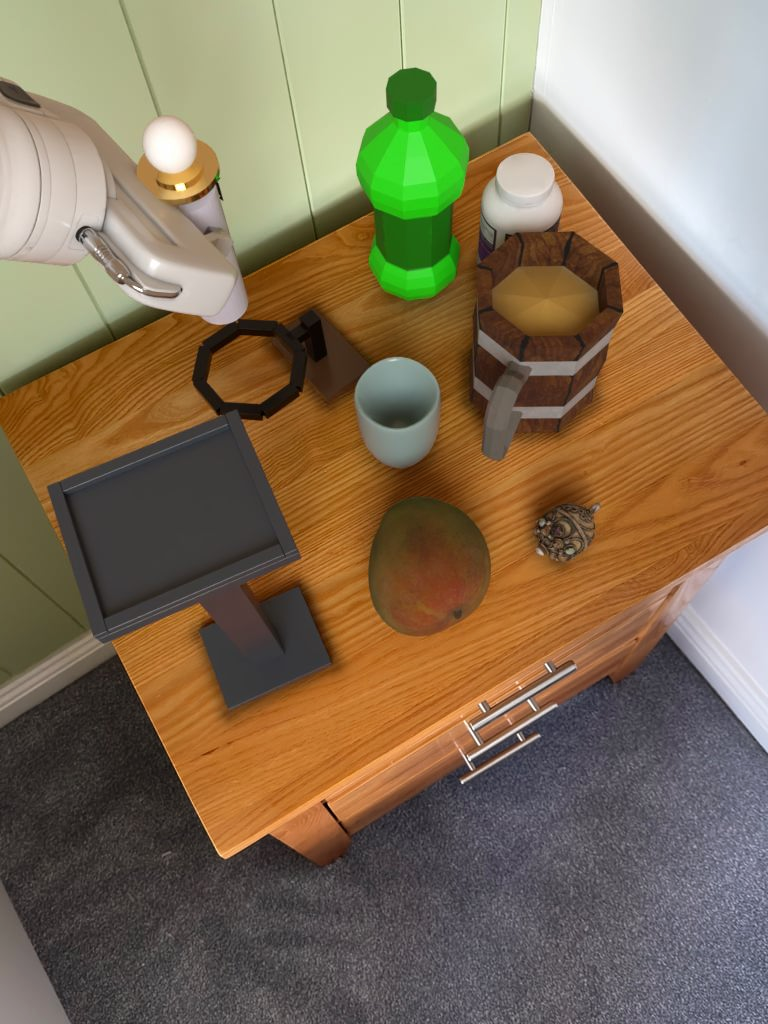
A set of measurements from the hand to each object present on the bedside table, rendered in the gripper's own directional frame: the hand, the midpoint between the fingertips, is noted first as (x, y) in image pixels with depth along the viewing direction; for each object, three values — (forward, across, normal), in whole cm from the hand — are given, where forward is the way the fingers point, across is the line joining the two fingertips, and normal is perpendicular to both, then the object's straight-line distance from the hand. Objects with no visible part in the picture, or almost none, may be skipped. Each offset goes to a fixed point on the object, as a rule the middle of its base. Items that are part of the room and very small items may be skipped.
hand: (202, 221), depth 64 cm
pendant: (+27, -32, +9) cm, 43 cm away
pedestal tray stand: (+7, -22, +29) cm, 37 cm away
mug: (+32, -19, +4) cm, 37 cm away
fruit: (+18, -27, +18) cm, 37 cm away
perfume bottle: (+7, 0, +8) cm, 11 cm away
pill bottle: (+40, -6, -4) cm, 40 cm away
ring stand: (+20, -1, +16) cm, 26 cm away
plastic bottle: (+34, 0, +3) cm, 34 cm away
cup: (+23, -14, +13) cm, 30 cm away
